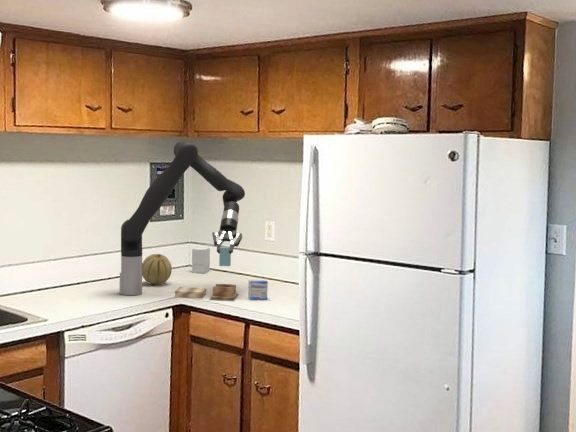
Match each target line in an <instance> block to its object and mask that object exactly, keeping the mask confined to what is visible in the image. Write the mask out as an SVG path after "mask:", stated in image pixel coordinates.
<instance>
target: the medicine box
mask: <svg viewBox="0 0 576 432" xmlns="http://www.w3.org/2000/svg"><path fill="white" fill-rule="evenodd" d="M268 284H269V282H268V280H267V279H248V300H249V301H267V300H268V290H269V289H268Z"/></svg>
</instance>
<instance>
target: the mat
mask: <svg viewBox="0 0 576 432" xmlns="http://www.w3.org/2000/svg"><path fill="white" fill-rule="evenodd" d="M239 295H240V293H238V295H237V296H236V298H235V299H234V300H216V299H211V297H210V298H209V300H208V301H214V302H235V301H236V299H237V298H238V296H239Z"/></svg>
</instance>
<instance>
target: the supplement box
mask: <svg viewBox="0 0 576 432" xmlns="http://www.w3.org/2000/svg"><path fill="white" fill-rule="evenodd" d="M210 252H211V251H210V247H199V246H198V247H195V248H192V249H191V267H192V268H191V270H192V271H191V272H192V274H193V273H194V274H195V273H196V274H206V273H209V272H210V271H211V270H210V269H211V268H210V267H211V266H210V265H211V264H210V263H211V262H210V261H211V259H210V257H211V256H210Z"/></svg>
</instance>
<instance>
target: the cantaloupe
mask: <svg viewBox="0 0 576 432" xmlns="http://www.w3.org/2000/svg"><path fill="white" fill-rule="evenodd" d="M172 269H173V268H172V263H171V261H170V260H169V258H168V257H167V256H166V255H164V254H161V253H154V254H150V255H148V256H146V257H145V259H144V260H142V279H144V280H145V282H146V283H148V284H151V285H153V286H154V285H161V284H165V283H166V282H167V281H168V280H169V279H170V277H171V275H172V271H173V270H172Z"/></svg>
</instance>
